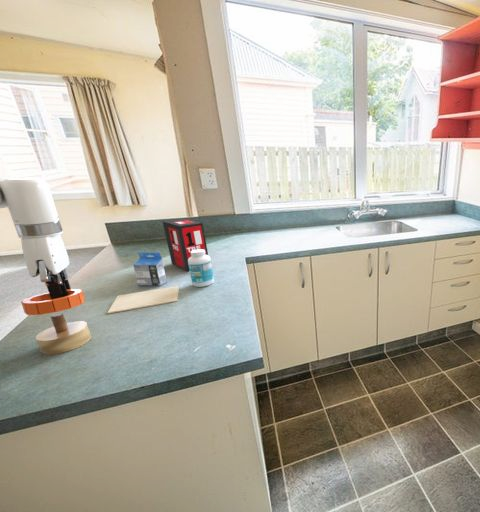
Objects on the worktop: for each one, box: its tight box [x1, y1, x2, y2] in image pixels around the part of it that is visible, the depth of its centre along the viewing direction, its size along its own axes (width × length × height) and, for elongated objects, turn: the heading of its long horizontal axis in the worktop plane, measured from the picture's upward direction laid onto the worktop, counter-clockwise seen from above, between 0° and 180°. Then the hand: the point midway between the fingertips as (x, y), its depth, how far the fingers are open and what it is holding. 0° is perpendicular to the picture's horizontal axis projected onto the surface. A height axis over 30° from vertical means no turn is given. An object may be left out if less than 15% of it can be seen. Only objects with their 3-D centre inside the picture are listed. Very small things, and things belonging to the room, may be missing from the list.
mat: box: [106, 285, 180, 315], centre depth 102 cm, size 18×14×1 cm
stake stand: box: [35, 312, 92, 356], centre depth 76 cm, size 9×9×8 cm
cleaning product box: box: [162, 217, 209, 272], centre depth 132 cm, size 16×9×20 cm, turn 56°
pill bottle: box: [188, 249, 215, 288], centre depth 113 cm, size 8×7×14 cm
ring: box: [21, 288, 86, 316], centre depth 76 cm, size 10×10×3 cm
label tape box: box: [133, 251, 168, 286], centre depth 112 cm, size 9×4×12 cm, turn 89°
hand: (61, 295), depth 79 cm, fingers closed on ring
